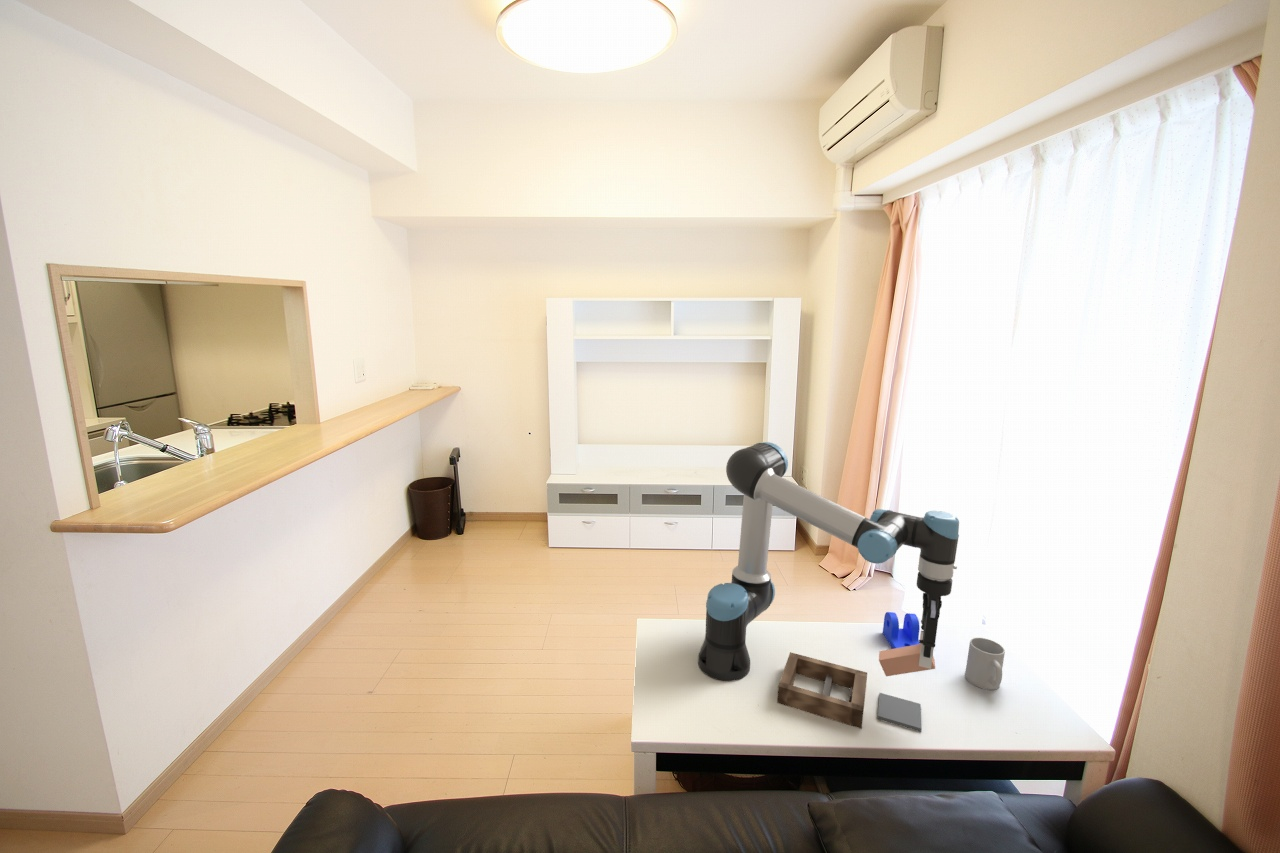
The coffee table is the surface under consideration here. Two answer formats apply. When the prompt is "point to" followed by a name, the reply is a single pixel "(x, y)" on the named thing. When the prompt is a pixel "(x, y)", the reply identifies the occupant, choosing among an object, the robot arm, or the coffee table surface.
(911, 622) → the bracket
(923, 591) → the robot arm
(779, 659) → the coffee table surface
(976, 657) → the mug
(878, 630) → the coffee table surface
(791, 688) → the brown wooden frame
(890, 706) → the rubber pad
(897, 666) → the terracotta block
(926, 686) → the coffee table surface
